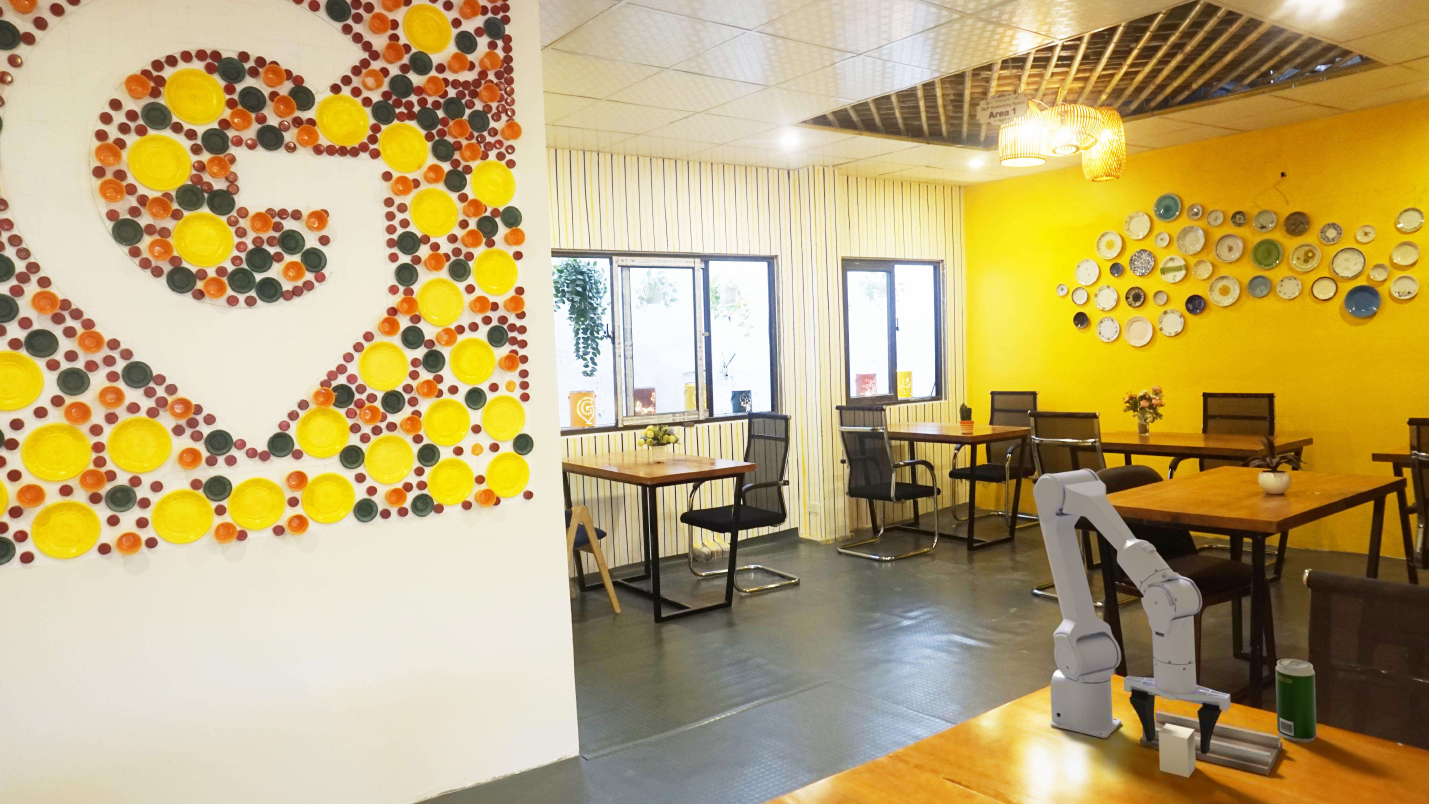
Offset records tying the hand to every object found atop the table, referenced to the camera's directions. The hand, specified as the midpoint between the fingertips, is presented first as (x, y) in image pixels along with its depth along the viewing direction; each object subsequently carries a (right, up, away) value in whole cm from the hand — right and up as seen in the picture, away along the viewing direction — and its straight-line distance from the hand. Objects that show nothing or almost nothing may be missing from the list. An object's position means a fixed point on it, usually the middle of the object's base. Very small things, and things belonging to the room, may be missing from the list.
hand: (1177, 745), depth 137 cm
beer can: (+24, -2, +8) cm, 25 cm away
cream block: (0, -4, 0) cm, 4 cm away
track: (+9, -3, +7) cm, 11 cm away
